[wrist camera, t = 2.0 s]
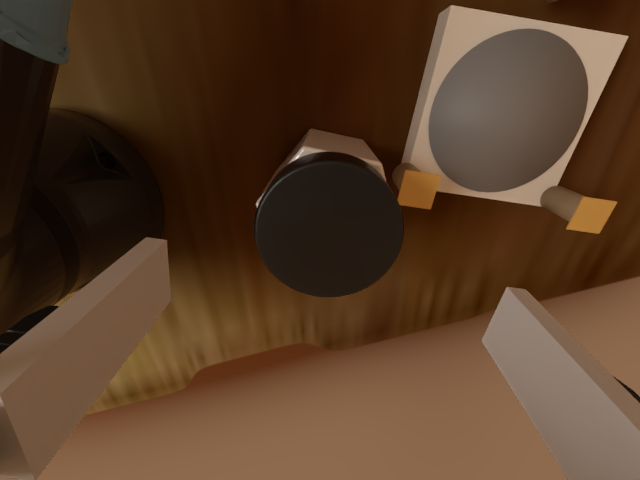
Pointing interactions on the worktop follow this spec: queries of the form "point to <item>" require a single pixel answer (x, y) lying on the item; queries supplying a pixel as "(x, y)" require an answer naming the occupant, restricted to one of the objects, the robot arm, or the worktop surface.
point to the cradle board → (506, 112)
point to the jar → (328, 217)
